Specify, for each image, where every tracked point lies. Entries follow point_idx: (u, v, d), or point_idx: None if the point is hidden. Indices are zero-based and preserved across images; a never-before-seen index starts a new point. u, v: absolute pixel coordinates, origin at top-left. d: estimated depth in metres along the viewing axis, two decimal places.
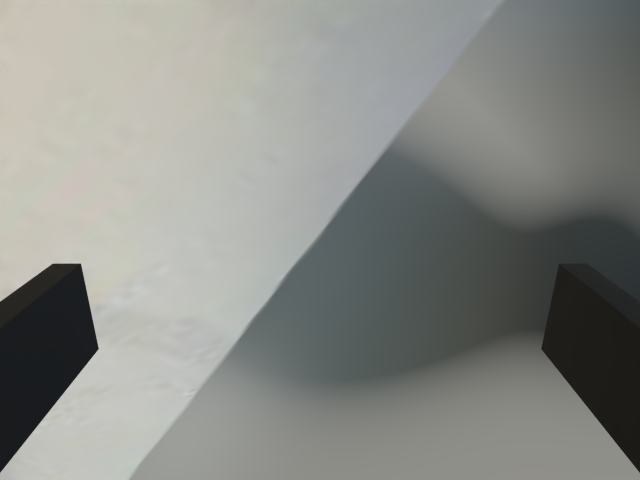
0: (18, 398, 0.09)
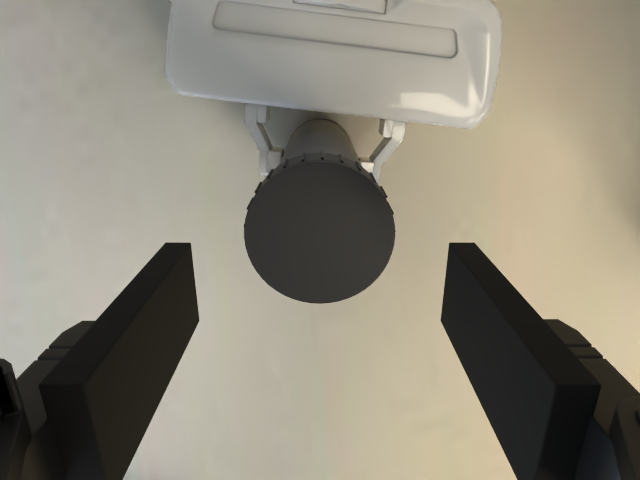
0: (161, 354, 0.11)
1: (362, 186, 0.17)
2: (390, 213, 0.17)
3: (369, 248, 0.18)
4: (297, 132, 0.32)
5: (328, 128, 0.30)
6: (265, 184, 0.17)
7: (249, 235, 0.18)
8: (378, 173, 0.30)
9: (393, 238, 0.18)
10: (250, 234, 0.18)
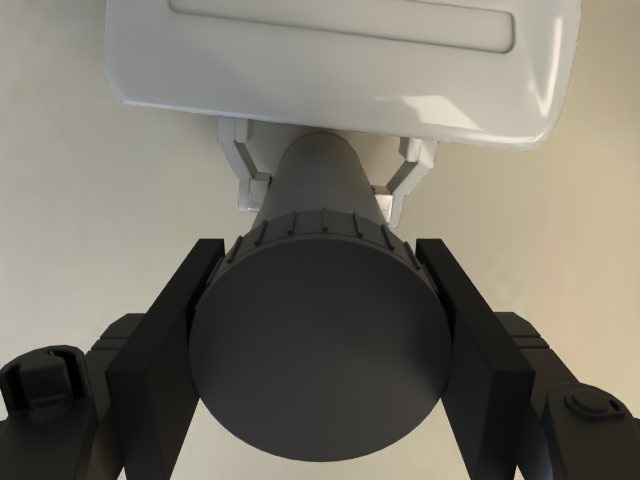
0: None
1: (397, 280, 0.09)
2: (446, 325, 0.10)
3: (406, 380, 0.10)
4: (290, 152, 0.24)
5: (331, 148, 0.22)
6: (222, 276, 0.09)
7: (197, 359, 0.10)
8: (399, 209, 0.22)
9: (449, 364, 0.10)
10: (198, 358, 0.10)
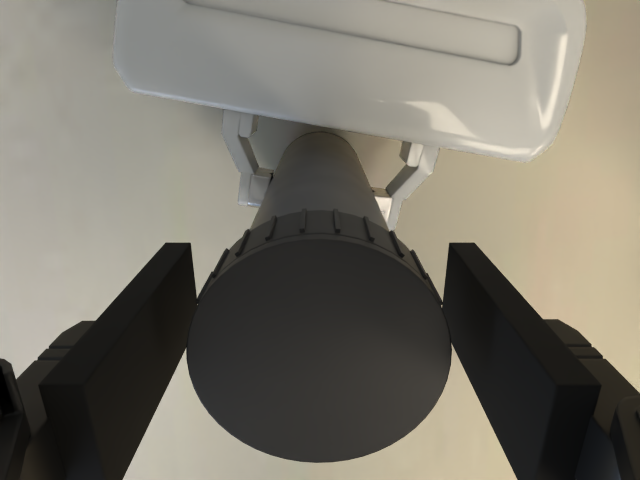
0: (161, 354, 0.11)
1: (216, 307, 0.10)
2: (259, 254, 0.09)
3: (333, 282, 0.09)
4: (292, 149, 0.24)
5: (334, 148, 0.23)
6: (240, 438, 0.11)
7: (326, 456, 0.11)
8: (397, 212, 0.22)
9: (308, 242, 0.09)
10: (324, 455, 0.11)
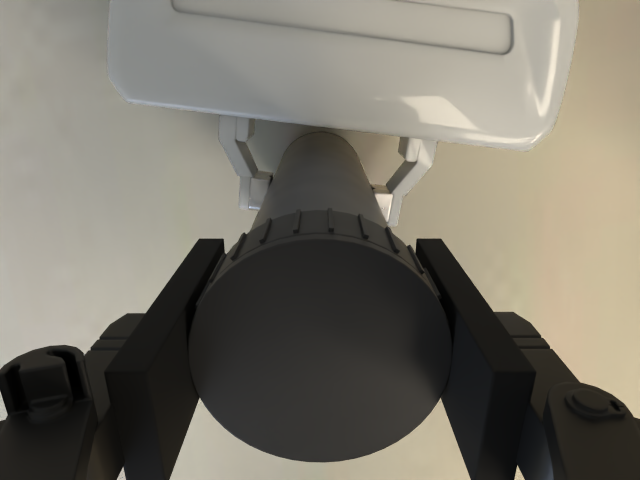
0: None
1: (214, 312, 0.10)
2: (253, 257, 0.09)
3: (328, 281, 0.09)
4: (291, 151, 0.24)
5: (332, 147, 0.22)
6: (246, 441, 0.11)
7: (333, 455, 0.11)
8: (398, 208, 0.22)
9: (301, 242, 0.09)
10: (331, 454, 0.11)
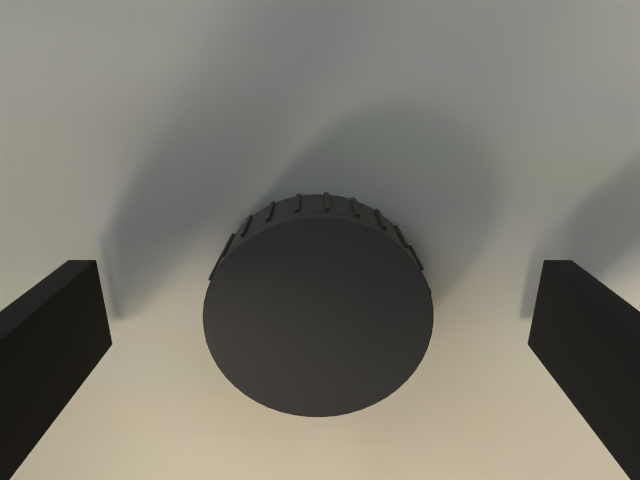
0: (39, 390, 0.10)
1: (226, 281, 0.11)
2: (260, 233, 0.11)
3: (325, 254, 0.11)
4: None
5: None
6: (254, 398, 0.12)
7: (330, 410, 0.13)
8: None
9: (302, 220, 0.11)
10: (328, 409, 0.13)
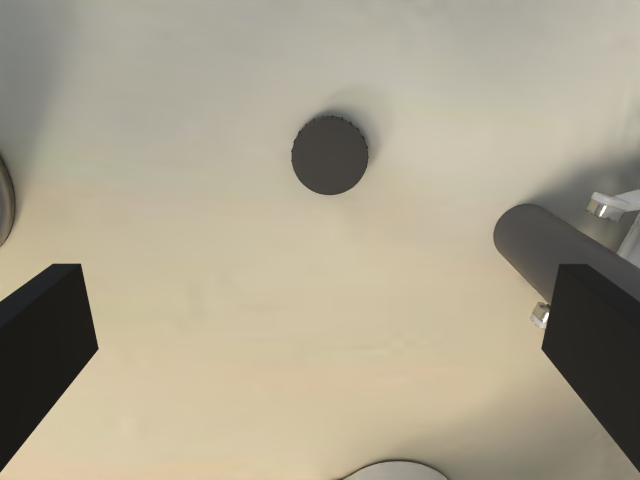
0: (18, 398, 0.09)
1: (300, 141, 0.35)
2: (312, 124, 0.34)
3: (332, 131, 0.34)
4: None
5: None
6: (307, 187, 0.36)
7: (333, 192, 0.36)
8: None
9: (325, 119, 0.34)
10: (333, 191, 0.36)
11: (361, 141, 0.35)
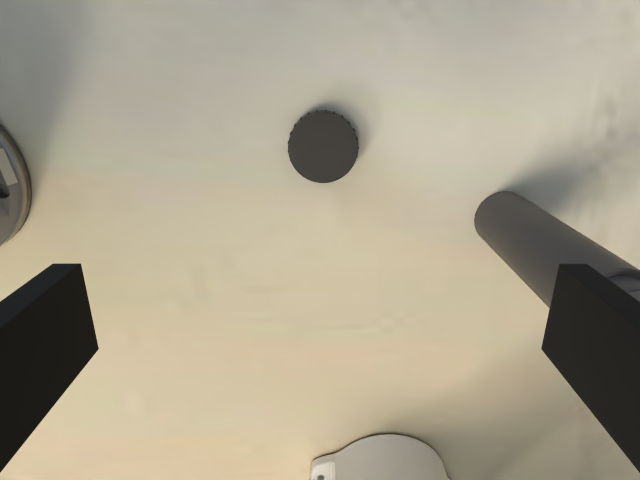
0: (18, 398, 0.09)
1: (296, 133, 0.38)
2: (306, 117, 0.37)
3: (325, 124, 0.38)
4: None
5: None
6: (302, 175, 0.39)
7: (327, 180, 0.39)
8: None
9: (318, 113, 0.37)
10: (326, 179, 0.39)
11: (352, 133, 0.38)
